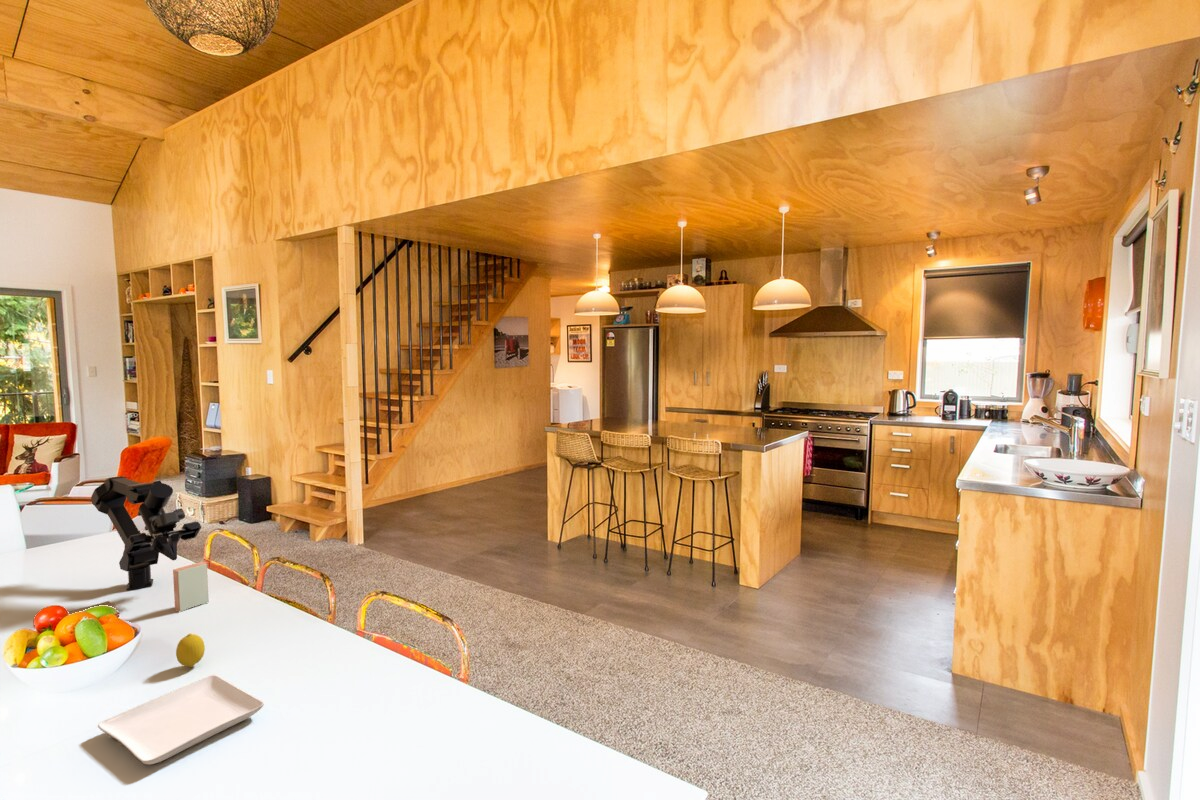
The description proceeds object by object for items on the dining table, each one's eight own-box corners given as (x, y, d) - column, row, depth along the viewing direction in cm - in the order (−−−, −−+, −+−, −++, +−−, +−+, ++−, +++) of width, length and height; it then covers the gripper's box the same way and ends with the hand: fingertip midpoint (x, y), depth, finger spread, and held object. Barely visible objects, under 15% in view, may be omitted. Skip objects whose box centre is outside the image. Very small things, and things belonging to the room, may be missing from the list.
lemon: (210, 664, 143) (209, 631, 143) (186, 675, 138) (184, 641, 138) (196, 659, 146) (194, 626, 145) (171, 670, 141) (169, 636, 140)
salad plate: (145, 780, 104) (144, 761, 104) (95, 739, 116) (94, 722, 115) (267, 718, 122) (267, 701, 122) (214, 688, 134) (213, 673, 133)
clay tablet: (121, 616, 171) (120, 607, 171) (75, 630, 163) (74, 620, 163) (103, 605, 179) (103, 596, 179) (59, 617, 171) (58, 607, 171)
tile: (175, 610, 174) (172, 569, 173) (204, 600, 181) (202, 561, 180) (179, 612, 173) (177, 571, 172) (209, 602, 180) (207, 562, 179)
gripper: (126, 508, 174) (147, 552, 169) (196, 495, 190) (217, 535, 185) (115, 531, 178) (135, 574, 174) (185, 517, 194) (204, 556, 190)
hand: (175, 559), depth 180 cm, fingers closed
